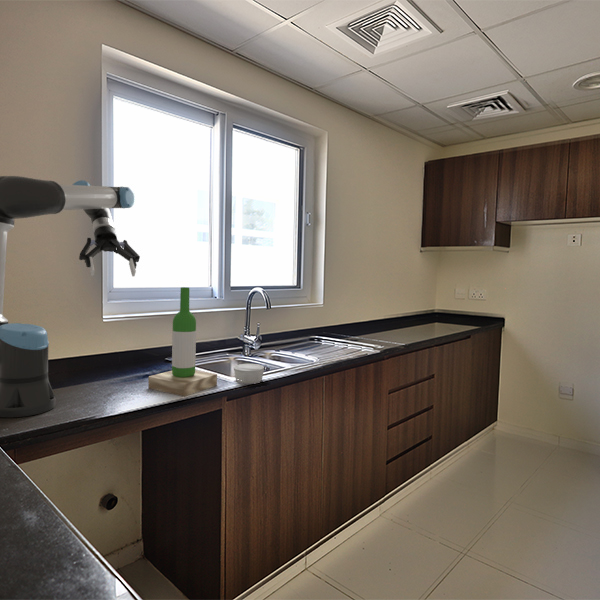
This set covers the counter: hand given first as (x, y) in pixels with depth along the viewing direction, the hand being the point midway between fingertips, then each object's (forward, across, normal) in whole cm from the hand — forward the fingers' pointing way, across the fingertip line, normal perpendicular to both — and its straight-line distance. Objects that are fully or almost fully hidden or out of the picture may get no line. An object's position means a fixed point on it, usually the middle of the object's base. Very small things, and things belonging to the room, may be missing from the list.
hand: (114, 273), depth 153 cm
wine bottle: (+39, -18, -9) cm, 44 cm away
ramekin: (+44, -41, -9) cm, 61 cm away
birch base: (+42, -18, -12) cm, 47 cm away
